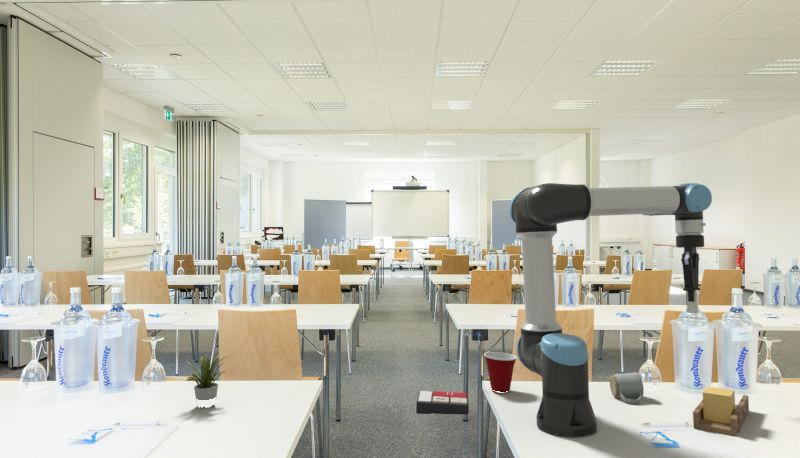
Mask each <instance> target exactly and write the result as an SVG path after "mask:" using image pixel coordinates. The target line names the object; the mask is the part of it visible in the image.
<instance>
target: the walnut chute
mask: <svg viewBox="0 0 800 458" xmlns="http://www.w3.org/2000/svg"><path fill="white" fill-rule="evenodd" d="M749 403H750V401H749V395H742V397H741V399H740V400H739V402H738V403H737V404H735V411H734V413H733V414H732V416H731V418H730V419H731V424H727V423H721V422H715V421H710V420H704V413H703V399H702V400H701V401H700V402H699V404H698V405H697V406H696V407H695V409H694V410H693V411H692V417H693V418H692V419H693V420H692V421H693V422H692V423H693V429H695V430H701V431H706V432H712V433H716V434H723V435H726V436H727V435H728V436H734V437H738V435H739V433H740V431H741V428H742V426H743V425H744V423H745V420H746V418H747V416H748V414H749V412H750V405H749Z"/></svg>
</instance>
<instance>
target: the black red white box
mask: <svg viewBox="0 0 800 458" xmlns="http://www.w3.org/2000/svg"><path fill="white" fill-rule="evenodd" d="M469 406H470V405H469V395H468V394H467V393H466V392H457V391H456V392H455V391H454V392H453V391H439V390H436V391H435V390H434V391H427V390H425V391H424V390H420V391H418V395H417V399H416V406H415V407H416V409H415V411H416V415H431V414H436V415H437V414H439V415H469V409H470V407H469Z"/></svg>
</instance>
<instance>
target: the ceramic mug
mask: <svg viewBox="0 0 800 458" xmlns="http://www.w3.org/2000/svg"><path fill="white" fill-rule="evenodd" d="M609 388H610V392H611V394H612V396H613V397H614V398H616V399H621V400H622V401H623V402H625V403H626V404H629V405H638V404H639V403H641V402H642V399H643V397H644V391H645V390H644V384H643V380H642V377H641V375H640V374H639V373H638V372H635V371H634V372H626V373H615V374H611V376H610V377H609Z"/></svg>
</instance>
